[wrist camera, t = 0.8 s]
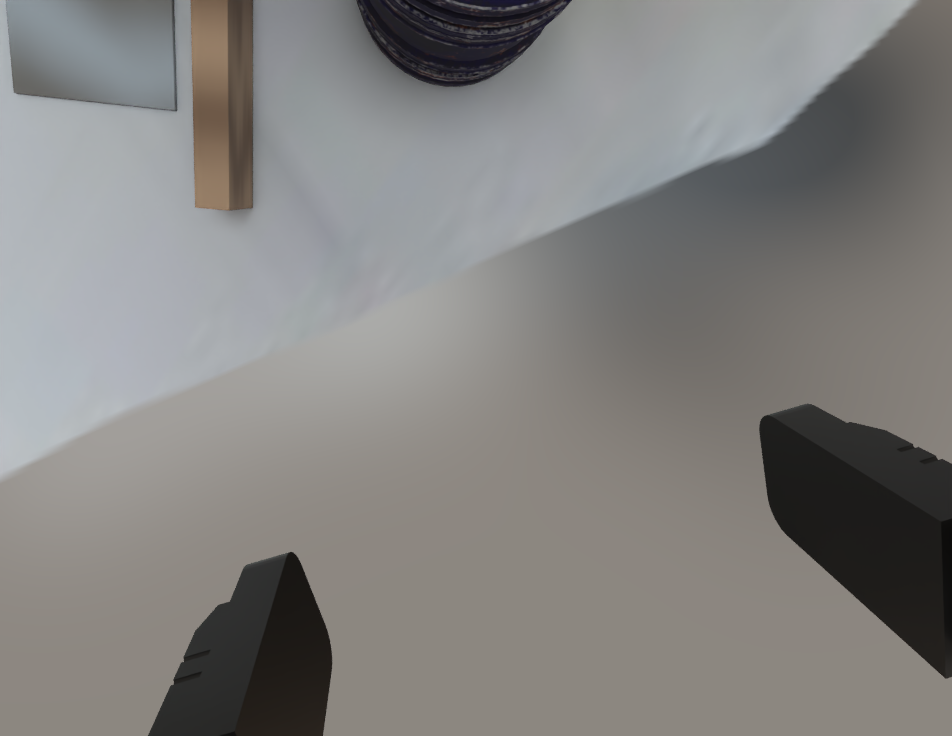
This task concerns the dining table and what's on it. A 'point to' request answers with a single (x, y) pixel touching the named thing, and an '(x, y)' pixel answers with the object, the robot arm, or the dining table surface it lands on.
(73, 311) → the dining table surface
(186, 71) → the dining table surface
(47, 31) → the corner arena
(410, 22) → the rusty blue oil drum
